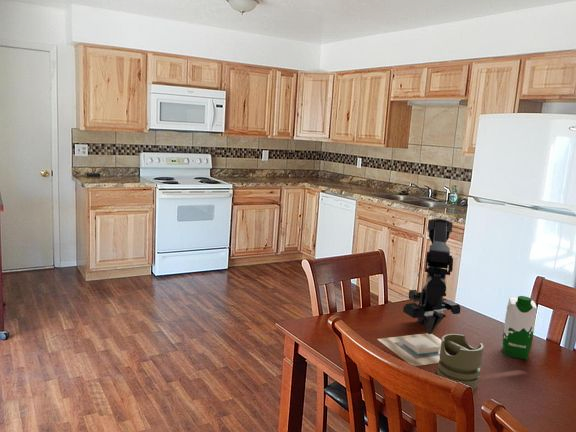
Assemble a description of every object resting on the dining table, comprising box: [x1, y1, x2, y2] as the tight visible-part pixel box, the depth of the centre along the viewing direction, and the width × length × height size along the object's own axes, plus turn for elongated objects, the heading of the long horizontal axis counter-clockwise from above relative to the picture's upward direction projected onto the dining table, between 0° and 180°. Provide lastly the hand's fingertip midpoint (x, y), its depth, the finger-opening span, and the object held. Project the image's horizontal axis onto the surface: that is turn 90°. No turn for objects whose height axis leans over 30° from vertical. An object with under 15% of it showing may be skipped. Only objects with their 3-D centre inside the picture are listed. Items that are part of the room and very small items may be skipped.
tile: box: [403, 337, 439, 355], centre depth 163 cm, size 2×8×8 cm
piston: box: [436, 333, 484, 391], centre depth 145 cm, size 11×12×11 cm
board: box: [376, 332, 442, 367], centre depth 164 cm, size 22×20×1 cm
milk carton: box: [502, 295, 538, 361], centre depth 166 cm, size 9×9×20 cm
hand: (429, 333), depth 164 cm, fingers closed
